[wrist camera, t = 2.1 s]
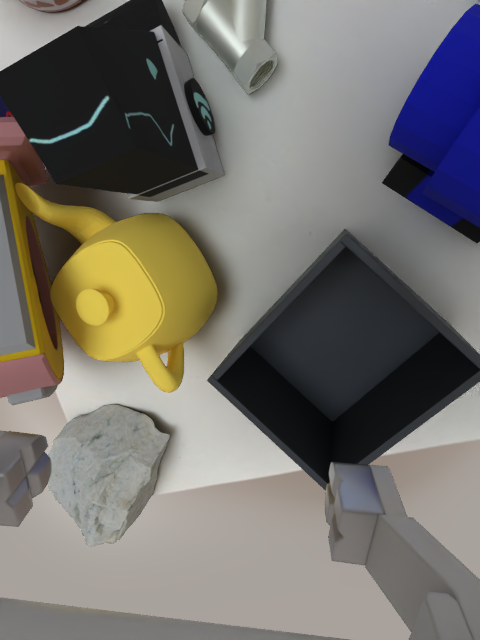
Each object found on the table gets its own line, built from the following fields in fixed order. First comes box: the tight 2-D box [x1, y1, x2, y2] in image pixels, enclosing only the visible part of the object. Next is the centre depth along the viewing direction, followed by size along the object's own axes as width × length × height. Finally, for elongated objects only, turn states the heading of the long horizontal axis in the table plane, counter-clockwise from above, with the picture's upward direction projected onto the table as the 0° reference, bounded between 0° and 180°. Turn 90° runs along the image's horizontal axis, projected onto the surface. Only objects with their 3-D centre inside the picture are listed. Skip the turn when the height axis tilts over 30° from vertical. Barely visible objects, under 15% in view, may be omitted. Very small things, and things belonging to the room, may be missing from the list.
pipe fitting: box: [182, 0, 278, 94], centre depth 32 cm, size 8×4×7 cm
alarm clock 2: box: [0, 117, 64, 405], centre depth 34 cm, size 22×9×22 cm
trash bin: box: [207, 229, 480, 490], centre depth 33 cm, size 15×13×11 cm
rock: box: [48, 404, 170, 547], centre depth 45 cm, size 15×16×8 cm
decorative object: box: [0, 0, 225, 202], centre depth 28 cm, size 8×18×15 cm
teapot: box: [15, 183, 217, 393], centre depth 35 cm, size 13×20×12 cm
